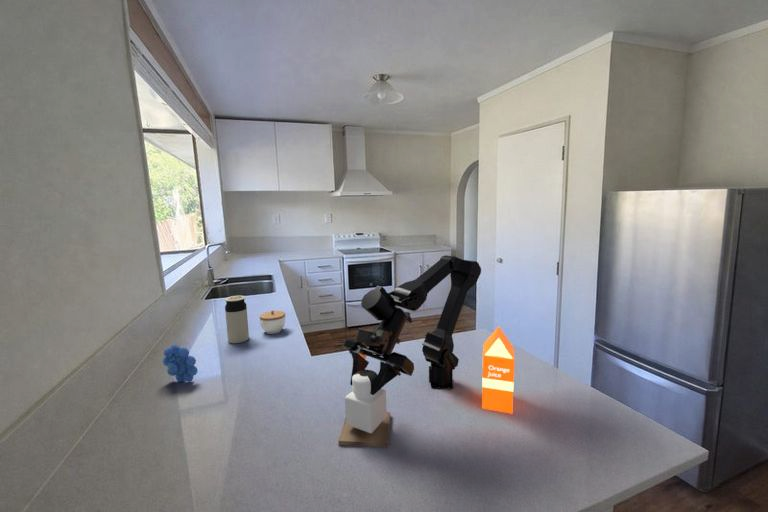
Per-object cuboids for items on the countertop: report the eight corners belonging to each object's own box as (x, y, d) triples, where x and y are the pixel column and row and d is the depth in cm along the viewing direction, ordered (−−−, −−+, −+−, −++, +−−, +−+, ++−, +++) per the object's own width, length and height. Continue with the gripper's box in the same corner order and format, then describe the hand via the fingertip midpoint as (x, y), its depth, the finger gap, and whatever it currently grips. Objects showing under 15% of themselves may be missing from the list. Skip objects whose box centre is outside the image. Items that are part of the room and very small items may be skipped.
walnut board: (390, 415, 83) (390, 412, 83) (387, 446, 72) (387, 442, 72) (347, 414, 84) (347, 411, 84) (338, 445, 73) (338, 440, 73)
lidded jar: (276, 325, 152) (275, 305, 151) (291, 329, 146) (290, 309, 144) (255, 332, 143) (254, 312, 142) (270, 337, 137) (269, 316, 136)
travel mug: (253, 338, 136) (249, 296, 134) (235, 345, 130) (231, 301, 127) (241, 335, 141) (238, 294, 138) (224, 341, 134) (220, 298, 132)
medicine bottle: (362, 408, 83) (360, 364, 81) (387, 416, 79) (385, 370, 78) (345, 424, 77) (343, 377, 75) (371, 434, 73) (369, 384, 72)
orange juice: (511, 395, 91) (514, 326, 89) (513, 413, 83) (515, 338, 80) (482, 390, 94) (484, 323, 91) (481, 408, 86) (482, 335, 83)
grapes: (154, 387, 100) (149, 349, 98) (172, 376, 106) (168, 340, 104) (187, 390, 97) (182, 352, 96) (203, 379, 104) (200, 343, 102)
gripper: (346, 307, 83) (314, 364, 76) (406, 321, 72) (374, 391, 65) (368, 327, 90) (340, 382, 84) (425, 344, 79) (399, 408, 72)
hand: (361, 389), depth 76 cm, fingers closed on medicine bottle, 6 cm apart
